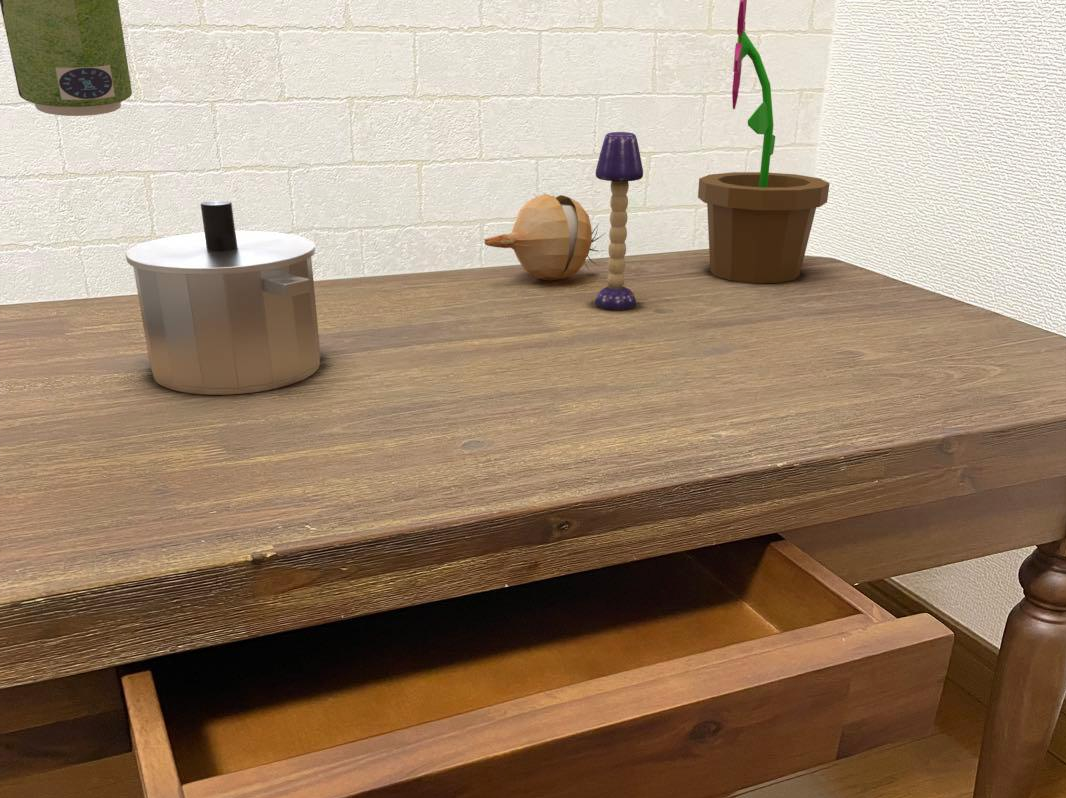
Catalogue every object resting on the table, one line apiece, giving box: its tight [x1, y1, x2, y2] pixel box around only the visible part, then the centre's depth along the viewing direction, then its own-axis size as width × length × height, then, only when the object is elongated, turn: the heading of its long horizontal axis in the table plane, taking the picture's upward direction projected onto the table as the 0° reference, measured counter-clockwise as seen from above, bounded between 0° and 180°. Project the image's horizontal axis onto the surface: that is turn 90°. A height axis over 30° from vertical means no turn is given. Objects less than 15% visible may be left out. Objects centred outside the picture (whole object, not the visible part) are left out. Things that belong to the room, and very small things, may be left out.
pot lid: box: [125, 199, 316, 275], centre depth 83 cm, size 15×15×5 cm
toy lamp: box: [594, 131, 644, 311], centre depth 103 cm, size 5×5×17 cm
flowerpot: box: [697, 0, 831, 284], centre depth 114 cm, size 14×14×30 cm
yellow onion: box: [483, 193, 606, 282], centre depth 115 cm, size 9×9×15 cm
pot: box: [132, 256, 322, 396], centre depth 86 cm, size 14×19×10 cm
